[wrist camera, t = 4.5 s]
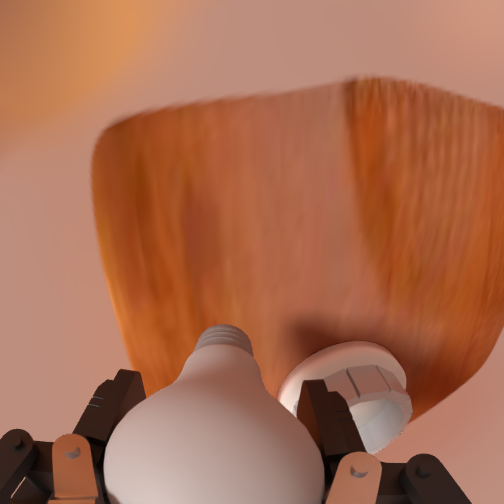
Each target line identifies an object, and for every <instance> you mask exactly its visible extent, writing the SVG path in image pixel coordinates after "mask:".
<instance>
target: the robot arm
mask: <svg viewBox="0 0 504 504" xmlns="http://www.w3.org/2000/svg"><path fill="white" fill-rule="evenodd" d="M145 399H146V395H145V391H144V386H143V382H142V377H141V374H140V372H138V371H131V370H124V369H120V370H119V371H118V373H117V375H116V376H115V378H114V380H108V379H107V380H106V381H105V382H103V383H102V384H101V385H100V386H98V388H97V390H96V391H95V393H94V395H93V398H91V400H90V402H89V405H87V407H86V409H85V411H84V413H83V414H82V416H81V418H80V420H79V422H78V424H77V426H76V427H75V429H74V431H73V433H72V434H66V435H62V436H60V437H59V438H58V439H56V441H55V442H42V441H34V440H33V439H32V437H31V436H30V434H29V433H28V432H26V431H25V430H22V429H13V430H10V431H8V432H7V433H6V434H5V435H4V436H3V437H2V438H1V439H0V504H111V503H110V501H109V498H108V496H107V493H106V490H105V482H104V459H105V451H106V447H107V444H108V442H109V440H110V437H111V435H112V433H113V431H114V430H115V428H116V426H117V425H118V424H119V422H120V421H121V420H122V419H123V418H124V416H125V415H126V414H127V413H128V412H129V411H130V410H131V409H132V408H134V407H135V406H136V405H137V404H139V403H140V402H142V401H143V400H145ZM297 419H298V420H299V421H300V422H301V423H302V424H303V425H304V426H305V427H306V428H307V430H308V432H309V433H310V435H311V437H312V438H313V440H314V442H315V444H316V445H317V447H318V449H319V451H320V453H321V457H322V461H323V465H324V473H325V485H324V496H323V500H322V504H472V503H471V502H470V500H469V499H468V498H467V497H466V495H465V494H464V492H463V491H462V490H461V488H460V487H459V486H458V484H457V483H456V482H455V480H454V479H453V478H452V476H451V475H450V474H449V472H448V471H447V470H446V468H445V467H444V466H443V464H442V463H441V462H440V461H439V460H438V459H437V458H436V457H435V456H433V455H430V454H418V455H416V456H414V457H412V458H411V459H410V460H409V461H408V462H407V463H385V462H380V461H379V460H378V459H377V458H376V457H375V456H373V455H372V454H369V453H368V452H367V451H366V449H365V446H364V444H363V441H362V439H361V436H360V434H359V431H358V429H357V426H356V424H355V421H354V420H353V416H352V414H351V412H350V409H349V407H348V404H347V402H346V399H345V398H343V397H342V396H341V395H340V394H339V393H338V392H337V391H331V392H328V389H327V386H326V384H325V381H324V380H323V379H315V380H303V382H302V386H301V391H300V396H299V401H298V406H297ZM24 477H26V478H25V480H24V481H23V482H22V484H21V485H20V487H19V488H18V489H17V491H16V492H15V494H14V495H13V497H12V498H11V495H12V494H13V492H14V491H15V490H16V488H17V487H18V485H19V484H20V483H21V481H22V480H23V478H24Z"/></svg>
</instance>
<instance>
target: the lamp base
mask: <svg viewBox="0 0 504 504" xmlns="http://www.w3.org/2000/svg"><path fill="white" fill-rule="evenodd" d="M315 379H323V380H324V381H325V384H326V386H327V389H328V392H331V391H337V392H338V393H339V394H340V395H341V396H342V397H343V398H345V399H346V402H347V404H348V407H349V409H350V412H351V414H352V416H353V420H354V421H355V424H356V426H357V429H358V431H359V434H360V436H361V439H362V441H363V444H364V446H365V449H366V451H367V452H368V453H369V454H372V455H373V454H375V453H377V452H379V451H380V449H384V448H385V447H386V446H387V445H388V444H390V443H391V442H392V441H393V440H394V439H396V438H397V437H398V436H399V435H400V434H401V432H403V430H404V428H405V427H406V425H407V423H408V422H409V420H410V418H411V416H412V413H413V410H412V404H411V399H410V397H409V395H408V394H407V392H406V391H405V389H406V375H405V372H404V370H403V368H402V367H401V365H400V364H399V363H398V362H397V360H396V359H395V358H394V356H393V355H392V354H391V353H390V352H389V351H388V349H386V348H385V347H383V346H381V345H379V344H377V343H373V342H368V341H351V342H344V343H340V344H336V345H333V346H330V347H327V348H325V349H323V350H320V351H318V352H316V353H315V354H313V355H311V356H309V357H308V358H306V359H305V360H303V361H302V362H301V363H300V364H298V365H297V366H296V367H295V368H294V369H293V370H292V371H291V372H290V373H289V374H288V375H287V377H286V378H285V379H284V381H283V383H282V384H281V386H280V389H279V391H278V395H277V400H278V401H279V402H280V403H281V404H282V405H283V406H285V407H286V408H287V409H288V410H289V411H290V412H291V413H292V414H293V415H294V416H295V417H296V418H297V406H298V401H299V396H300V391H301V386H302V382H303V380H315Z"/></svg>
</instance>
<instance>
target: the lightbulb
mask: <svg viewBox="0 0 504 504" xmlns="http://www.w3.org/2000/svg"><path fill="white" fill-rule="evenodd" d="M104 482H105V490H106V493H107V496H108V498H109V501H110V503H111V504H322V500H323V496H324V485H325V473H324V465H323V461H322V457H321V453H320V451H319V449H318V447H317V445H316V444H315V442H314V440H313V438H312V437H311V435H310V433H309V432H308V430H307V428H306V427H305V426H304V425H303V424H302V423H301V422H300V421H299V420H298V419H297V418H296V417H295V416H294V415H293V414H292V413H291V412H290V411H289V410H288V409H287V408H286V407H285V406H283V405H282V404H281V403H280V402H279V401H278V400H277V399H275V398H274V397H273V396H271V395H270V394H269V393H268V391H267V390H266V389H265V386H264V384H263V382H262V378H261V373H260V369H259V366H258V364H257V362H256V361H255V359H254V358H253V353H252V346H251V342H250V340H249V338H248V336H247V335H246V334H245V333H244V332H243V331H242V330H241V329H239V328H237V327H234V326H232V325H226V324H223V325H215V326H212V327H210V328H208V329H206V330H205V331H204V332H203V333H202V334H201V336H200V338H199V340H198V343H197V345H196V347H195V350H194V352H193V353H192V354H191V355H190V356H189V358H188V359H187V360H186V362H185V365H184V368H183V370H182V372H181V374H180V375H179V377H178V379H177V380H176V381H175V382H173V383H172V384H171V385H169V386H167V387H165V388H163V389H161V390H159V391H157V392H156V393H154V394H153V395H151V396H150V397H148V398H146V399H145V400H143V401H142V402H140V403H139V404H137V405H136V406H135V407H134V408H132V409H131V410H130V411H129V412H128V413H127V414H126V415H125V416H124V418H123V419H122V420H121V421H120V422H119V424H118V425H117V426H116V428H115V430H114V431H113V433H112V435H111V437H110V440H109V442H108V444H107V447H106V451H105V459H104Z"/></svg>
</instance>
